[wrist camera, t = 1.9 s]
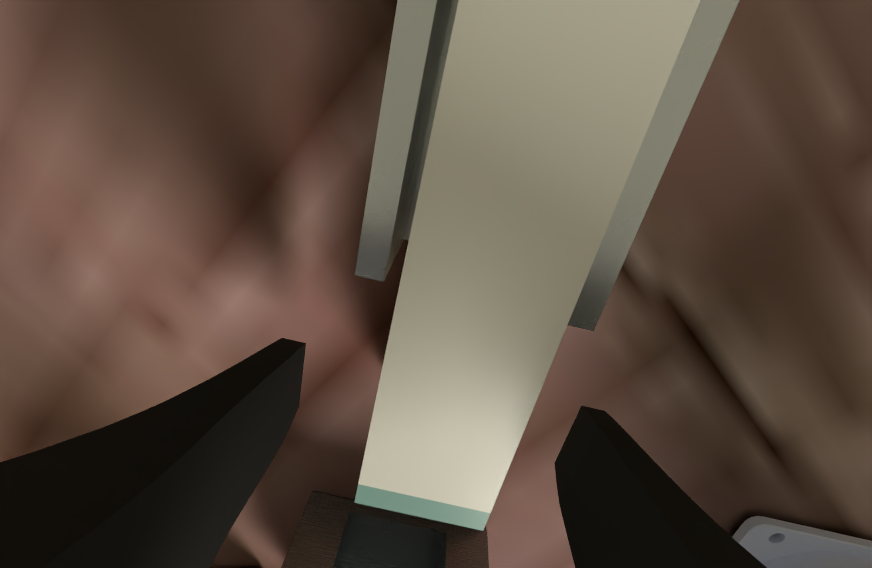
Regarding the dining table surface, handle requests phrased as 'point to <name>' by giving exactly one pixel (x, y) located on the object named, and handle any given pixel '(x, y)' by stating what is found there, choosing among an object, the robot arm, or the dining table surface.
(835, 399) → the dining table surface
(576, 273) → the inner rod
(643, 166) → the sleeve
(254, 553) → the dining table surface
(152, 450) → the robot arm
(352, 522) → the socket
